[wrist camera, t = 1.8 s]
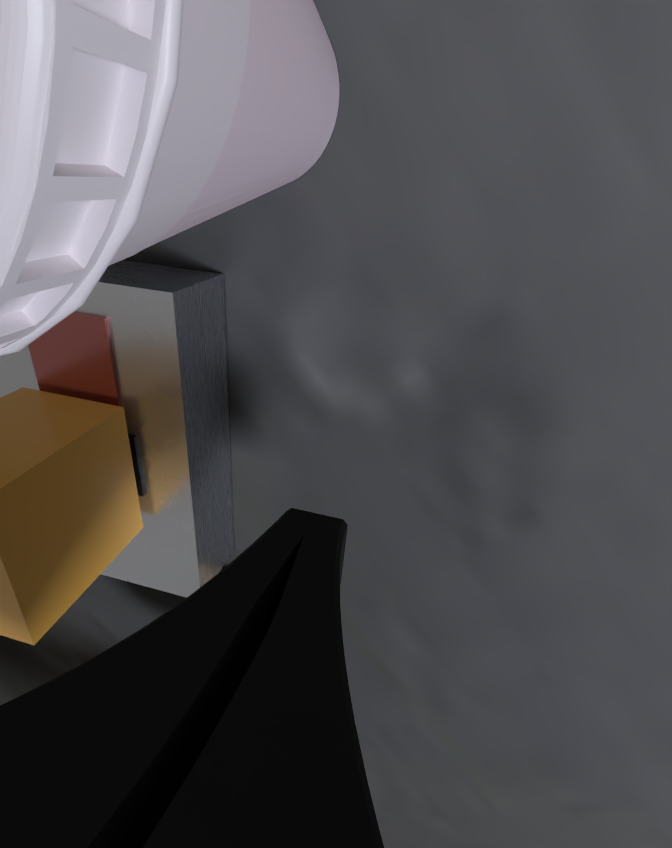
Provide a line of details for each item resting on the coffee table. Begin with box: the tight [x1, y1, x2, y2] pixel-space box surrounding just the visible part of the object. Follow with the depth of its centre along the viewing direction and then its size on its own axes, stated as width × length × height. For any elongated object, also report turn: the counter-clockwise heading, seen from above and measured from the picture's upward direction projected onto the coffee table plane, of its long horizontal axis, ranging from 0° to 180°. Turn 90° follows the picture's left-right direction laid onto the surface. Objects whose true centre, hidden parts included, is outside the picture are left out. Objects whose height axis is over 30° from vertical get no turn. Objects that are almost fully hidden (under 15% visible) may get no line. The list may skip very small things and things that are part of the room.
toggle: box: [0, 387, 143, 645], centre depth 11 cm, size 4×3×4 cm
